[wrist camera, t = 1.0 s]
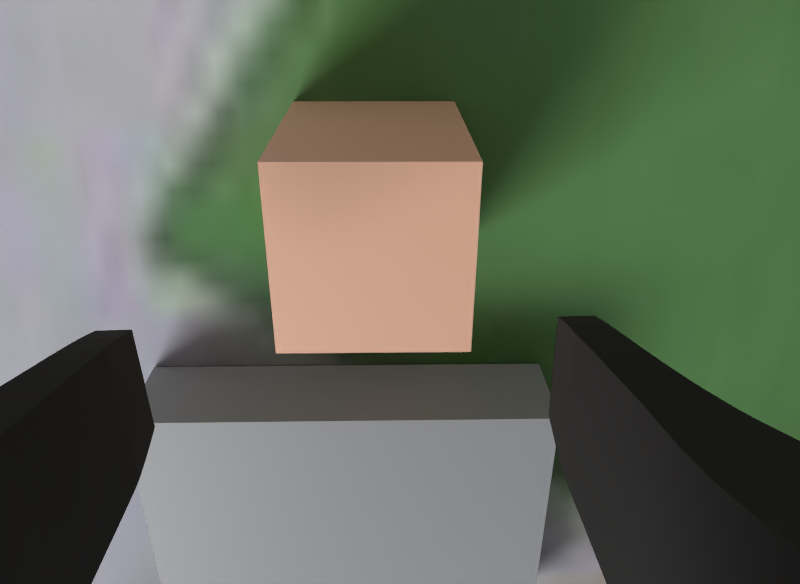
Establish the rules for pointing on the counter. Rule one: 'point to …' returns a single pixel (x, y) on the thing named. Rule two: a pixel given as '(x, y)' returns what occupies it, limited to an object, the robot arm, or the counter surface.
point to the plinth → (348, 473)
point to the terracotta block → (371, 227)
